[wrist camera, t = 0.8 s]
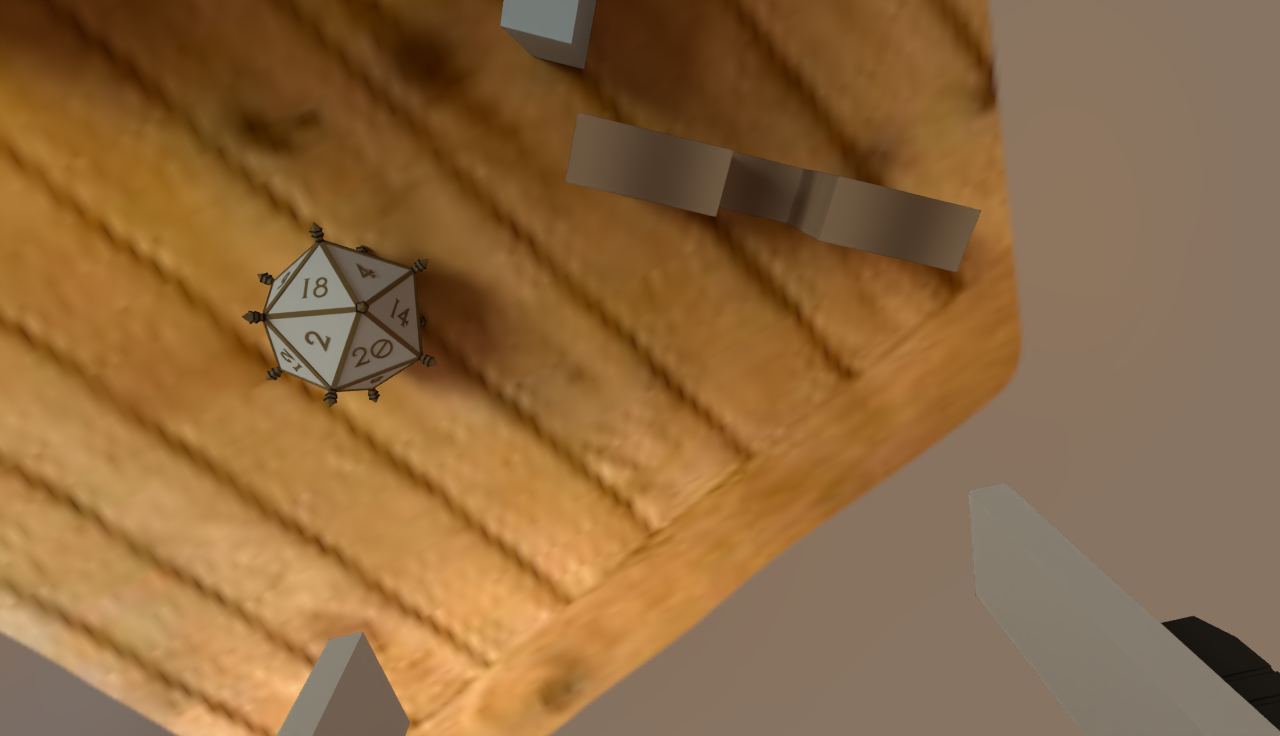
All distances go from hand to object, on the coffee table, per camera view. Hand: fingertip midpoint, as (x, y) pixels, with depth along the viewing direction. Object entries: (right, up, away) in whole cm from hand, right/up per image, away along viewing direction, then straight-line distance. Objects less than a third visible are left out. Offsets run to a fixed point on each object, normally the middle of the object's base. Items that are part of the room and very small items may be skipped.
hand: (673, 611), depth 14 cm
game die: (-15, +9, +22) cm, 28 cm away
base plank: (+4, +15, +20) cm, 26 cm away
